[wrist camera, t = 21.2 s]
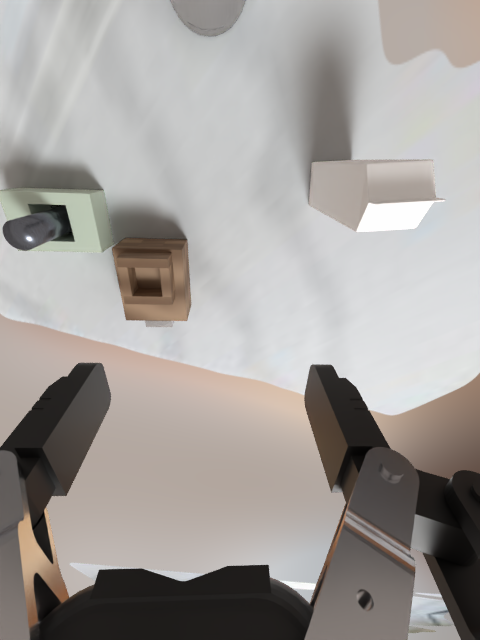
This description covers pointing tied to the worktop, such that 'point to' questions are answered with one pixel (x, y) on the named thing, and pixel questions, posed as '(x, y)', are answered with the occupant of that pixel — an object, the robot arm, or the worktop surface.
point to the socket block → (153, 278)
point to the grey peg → (37, 228)
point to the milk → (373, 192)
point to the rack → (82, 210)
